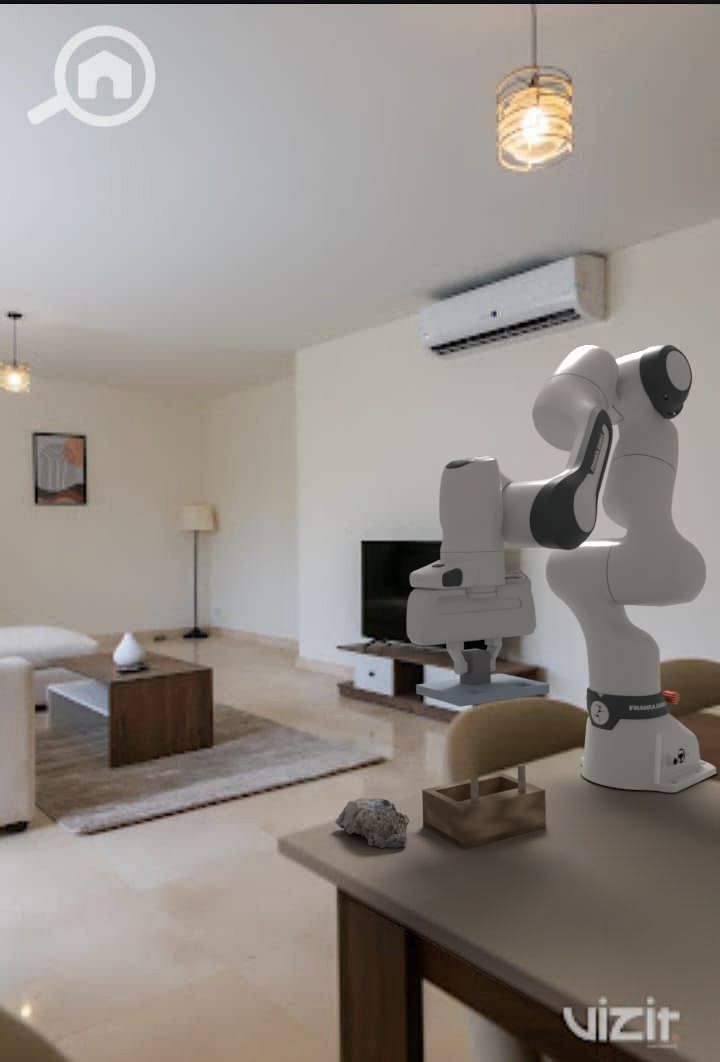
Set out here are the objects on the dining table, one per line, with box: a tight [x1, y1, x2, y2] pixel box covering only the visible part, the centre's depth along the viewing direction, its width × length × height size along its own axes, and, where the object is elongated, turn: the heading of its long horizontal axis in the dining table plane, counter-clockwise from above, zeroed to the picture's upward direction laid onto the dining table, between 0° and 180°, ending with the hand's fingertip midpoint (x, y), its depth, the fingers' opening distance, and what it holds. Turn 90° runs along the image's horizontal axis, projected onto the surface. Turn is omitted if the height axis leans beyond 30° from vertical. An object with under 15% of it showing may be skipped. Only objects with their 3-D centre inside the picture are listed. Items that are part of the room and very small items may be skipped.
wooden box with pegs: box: [421, 763, 547, 850], centre depth 101 cm, size 14×9×8 cm, turn 119°
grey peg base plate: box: [415, 648, 550, 707], centre depth 102 cm, size 15×10×6 cm, turn 119°
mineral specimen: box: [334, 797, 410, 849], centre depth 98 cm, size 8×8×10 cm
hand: (475, 672), depth 103 cm, fingers closed on grey peg base plate, 3 cm apart
